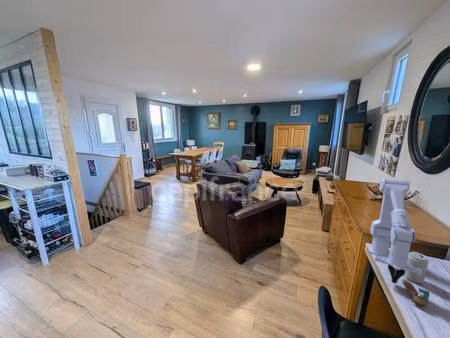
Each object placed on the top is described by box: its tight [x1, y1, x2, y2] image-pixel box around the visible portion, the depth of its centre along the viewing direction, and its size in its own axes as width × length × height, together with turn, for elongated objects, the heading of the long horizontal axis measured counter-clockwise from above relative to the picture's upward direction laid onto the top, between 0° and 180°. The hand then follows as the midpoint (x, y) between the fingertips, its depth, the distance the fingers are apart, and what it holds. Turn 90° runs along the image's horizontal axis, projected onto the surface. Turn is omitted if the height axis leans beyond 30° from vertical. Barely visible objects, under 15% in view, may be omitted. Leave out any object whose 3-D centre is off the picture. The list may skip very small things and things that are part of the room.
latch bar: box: [401, 278, 427, 308], centre depth 74 cm, size 12×3×3 cm, turn 158°
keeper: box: [418, 287, 430, 304], centre depth 72 cm, size 1×3×4 cm, turn 48°
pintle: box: [411, 293, 426, 310], centre depth 71 cm, size 4×4×4 cm
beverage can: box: [403, 251, 429, 284], centre depth 83 cm, size 6×6×12 cm
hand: (393, 281), depth 80 cm, fingers closed
